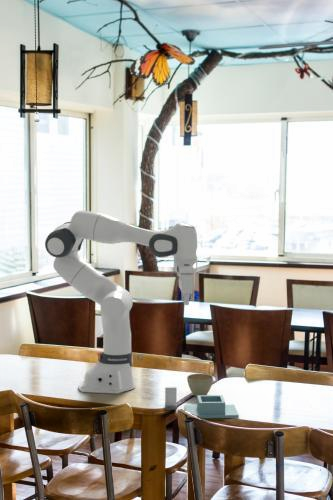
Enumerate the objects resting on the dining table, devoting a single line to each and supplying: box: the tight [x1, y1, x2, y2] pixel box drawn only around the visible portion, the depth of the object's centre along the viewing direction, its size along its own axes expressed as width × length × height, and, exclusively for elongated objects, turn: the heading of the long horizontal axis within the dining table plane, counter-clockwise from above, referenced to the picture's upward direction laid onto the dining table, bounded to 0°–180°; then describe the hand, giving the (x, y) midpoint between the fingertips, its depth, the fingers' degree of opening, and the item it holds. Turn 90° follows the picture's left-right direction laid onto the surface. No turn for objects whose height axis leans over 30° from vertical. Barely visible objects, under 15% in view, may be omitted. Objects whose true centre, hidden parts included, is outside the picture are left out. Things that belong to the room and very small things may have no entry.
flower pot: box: [186, 373, 214, 397], centre depth 273 cm, size 10×10×7 cm
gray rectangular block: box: [164, 386, 178, 411], centre depth 257 cm, size 4×4×8 cm
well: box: [184, 394, 239, 419], centre depth 251 cm, size 18×12×5 cm, turn 92°
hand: (185, 302), depth 269 cm, fingers open, 8 cm apart
